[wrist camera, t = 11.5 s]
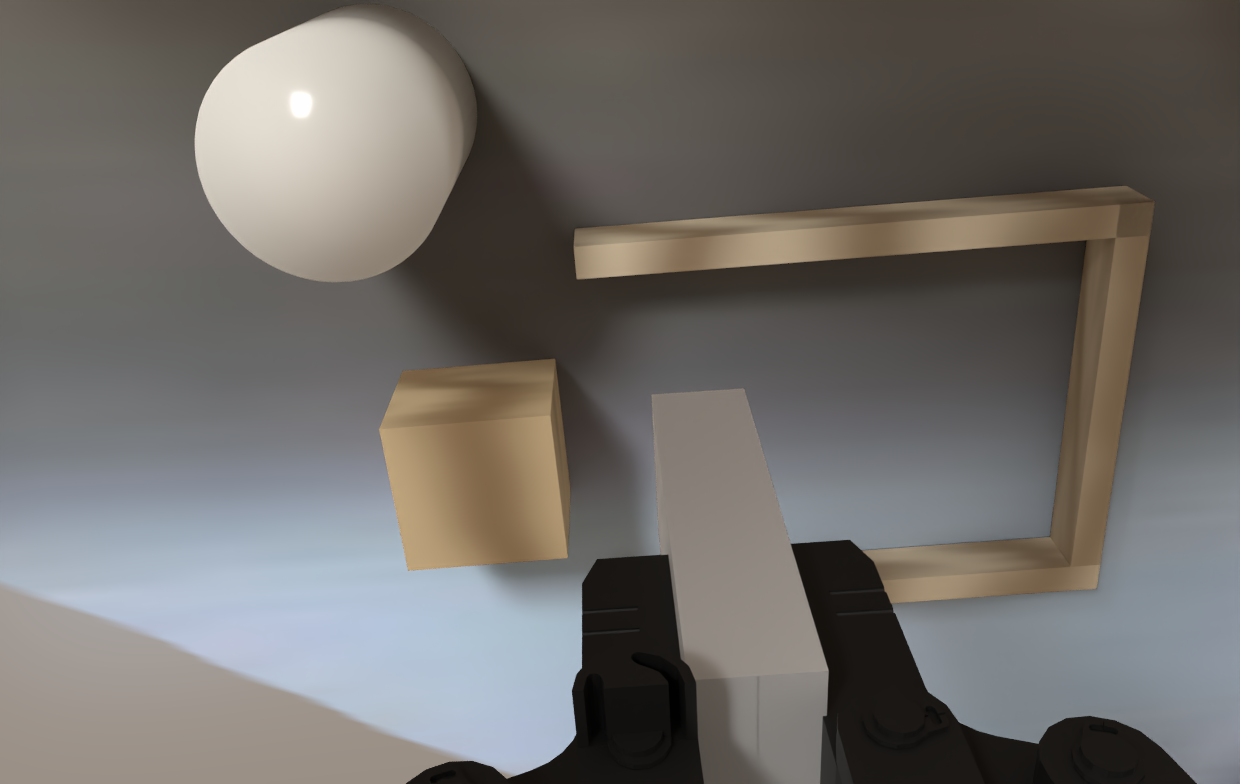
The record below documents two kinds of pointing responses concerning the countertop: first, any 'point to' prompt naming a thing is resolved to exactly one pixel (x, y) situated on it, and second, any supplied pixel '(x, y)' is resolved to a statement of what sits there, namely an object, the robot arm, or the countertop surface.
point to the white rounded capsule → (337, 141)
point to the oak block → (478, 464)
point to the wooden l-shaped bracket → (1092, 214)
